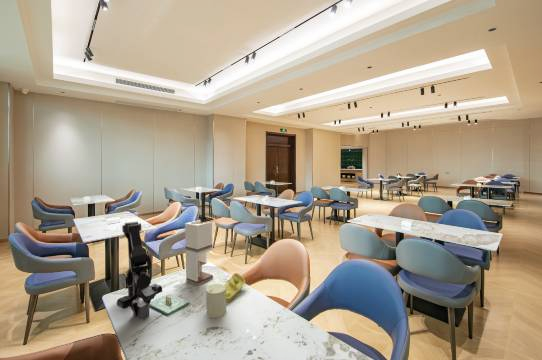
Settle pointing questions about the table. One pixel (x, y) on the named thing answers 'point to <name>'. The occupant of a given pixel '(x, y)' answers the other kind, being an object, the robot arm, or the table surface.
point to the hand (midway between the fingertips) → (141, 313)
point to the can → (216, 300)
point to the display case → (197, 250)
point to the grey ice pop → (142, 310)
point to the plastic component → (234, 286)
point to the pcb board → (168, 304)
